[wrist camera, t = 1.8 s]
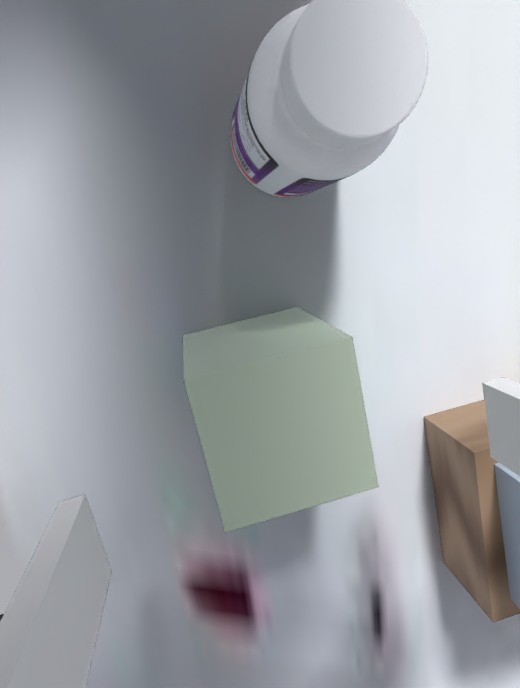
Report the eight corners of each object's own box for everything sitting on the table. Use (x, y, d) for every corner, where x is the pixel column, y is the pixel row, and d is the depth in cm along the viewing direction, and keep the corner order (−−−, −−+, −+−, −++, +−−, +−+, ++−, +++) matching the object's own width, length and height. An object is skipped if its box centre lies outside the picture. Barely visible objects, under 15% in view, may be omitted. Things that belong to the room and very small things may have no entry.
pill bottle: (357, 109, 22) (485, 12, 13) (312, 216, 23) (402, 197, 14) (254, 54, 21) (313, -99, 12) (210, 168, 22) (232, 112, 12)
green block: (182, 335, 23) (183, 380, 15) (297, 306, 24) (352, 337, 16) (211, 442, 25) (225, 532, 17) (318, 412, 25) (378, 486, 18)
